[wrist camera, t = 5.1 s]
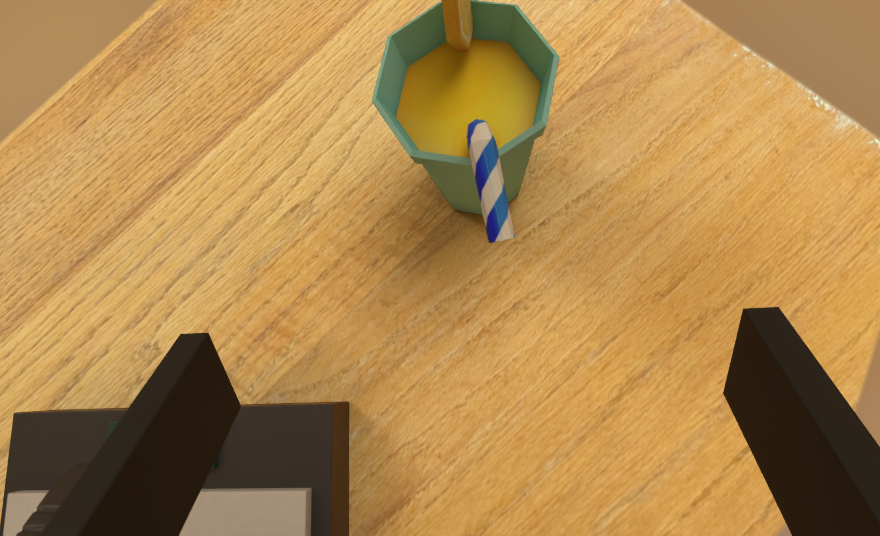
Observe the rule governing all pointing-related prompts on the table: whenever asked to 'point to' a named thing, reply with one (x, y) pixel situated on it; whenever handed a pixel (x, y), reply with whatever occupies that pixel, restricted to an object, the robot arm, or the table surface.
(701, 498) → the table surface
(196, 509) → the scale
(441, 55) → the cup
